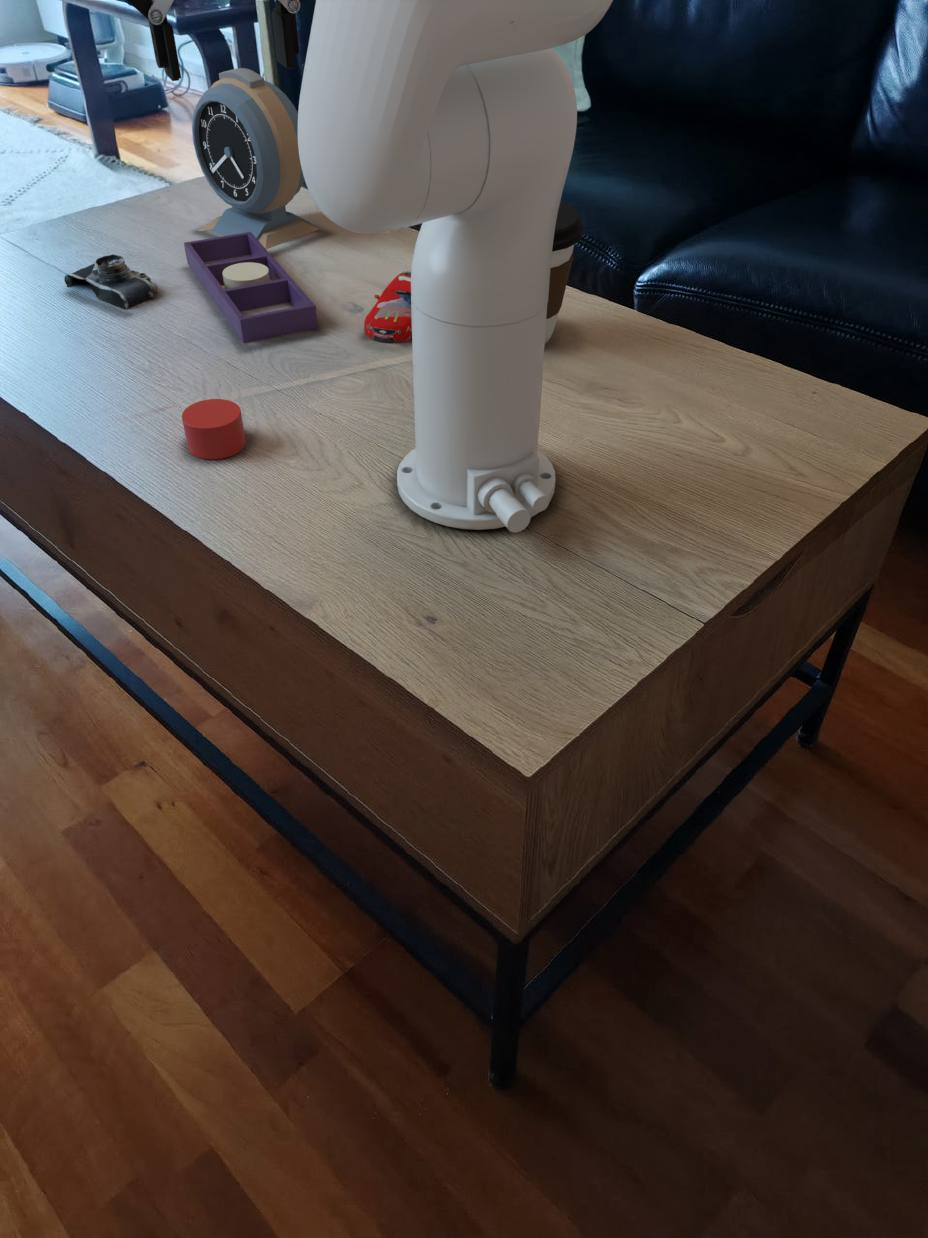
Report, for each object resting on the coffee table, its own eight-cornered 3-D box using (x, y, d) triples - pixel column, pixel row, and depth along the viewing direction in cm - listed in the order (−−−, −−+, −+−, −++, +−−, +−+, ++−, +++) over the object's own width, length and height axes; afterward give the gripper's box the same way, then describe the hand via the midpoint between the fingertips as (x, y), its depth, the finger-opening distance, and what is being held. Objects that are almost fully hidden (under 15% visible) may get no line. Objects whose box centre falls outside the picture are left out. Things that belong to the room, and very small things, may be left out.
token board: (318, 333, 98) (315, 305, 96) (244, 349, 95) (239, 320, 93) (254, 257, 112) (250, 231, 110) (188, 268, 110) (183, 242, 108)
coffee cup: (447, 346, 96) (446, 222, 88) (493, 304, 103) (496, 187, 95) (549, 370, 92) (558, 243, 84) (589, 325, 100) (601, 204, 92)
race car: (407, 354, 95) (406, 315, 92) (356, 345, 96) (353, 306, 93) (453, 299, 104) (453, 262, 101) (406, 292, 105) (405, 255, 103)
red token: (253, 451, 81) (248, 419, 79) (196, 465, 80) (189, 433, 78) (236, 424, 84) (231, 393, 82) (182, 437, 83) (175, 405, 81)
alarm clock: (193, 229, 119) (163, 67, 107) (254, 208, 124) (233, 52, 112) (271, 259, 112) (249, 89, 100) (332, 235, 117) (318, 72, 106)
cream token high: (276, 286, 102) (274, 275, 101) (231, 294, 100) (229, 283, 99) (262, 270, 105) (260, 259, 104) (218, 277, 103) (217, 266, 102)
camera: (103, 276, 108) (94, 238, 105) (165, 300, 103) (158, 261, 101) (65, 291, 105) (55, 252, 102) (127, 316, 100) (118, 277, 98)
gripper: (77, -193, 65) (134, 92, 76) (324, -196, 70) (343, 70, 81) (61, -196, 70) (117, 71, 81) (293, -199, 75) (315, 52, 87)
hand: (230, 71), depth 81 cm, fingers open, 9 cm apart
